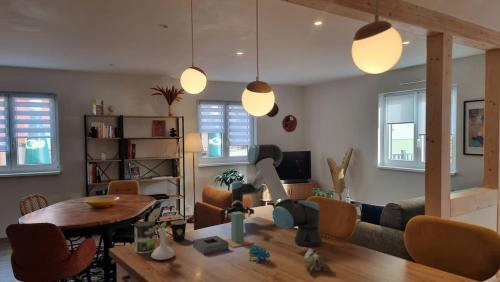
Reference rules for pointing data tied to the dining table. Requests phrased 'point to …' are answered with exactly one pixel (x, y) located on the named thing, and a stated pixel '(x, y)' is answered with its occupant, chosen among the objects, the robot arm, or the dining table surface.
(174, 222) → the coffee mug
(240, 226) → the peg
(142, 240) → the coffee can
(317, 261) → the ceramic sculpture
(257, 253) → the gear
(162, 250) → the flower in vase
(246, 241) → the mat
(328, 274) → the dining table surface
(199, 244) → the socket block
